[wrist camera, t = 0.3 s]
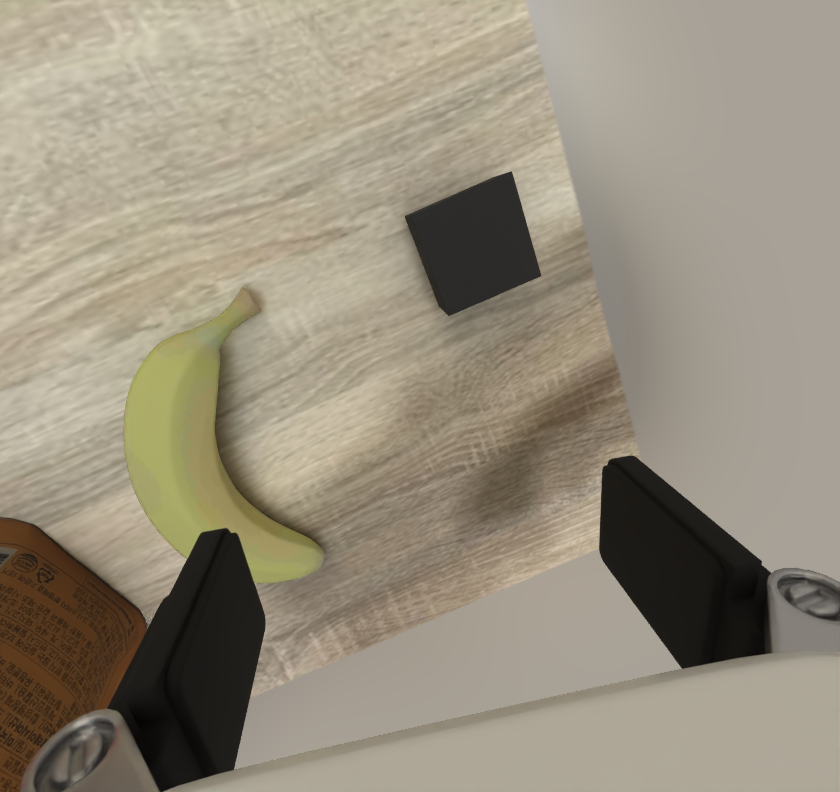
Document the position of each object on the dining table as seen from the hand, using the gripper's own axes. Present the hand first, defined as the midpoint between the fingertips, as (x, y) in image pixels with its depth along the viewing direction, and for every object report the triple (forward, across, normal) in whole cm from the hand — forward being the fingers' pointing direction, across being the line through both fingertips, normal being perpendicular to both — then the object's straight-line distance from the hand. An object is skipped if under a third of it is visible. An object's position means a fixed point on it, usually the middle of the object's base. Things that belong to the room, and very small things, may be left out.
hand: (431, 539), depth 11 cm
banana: (+20, +10, +5) cm, 23 cm away
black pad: (+20, -6, -6) cm, 22 cm away
